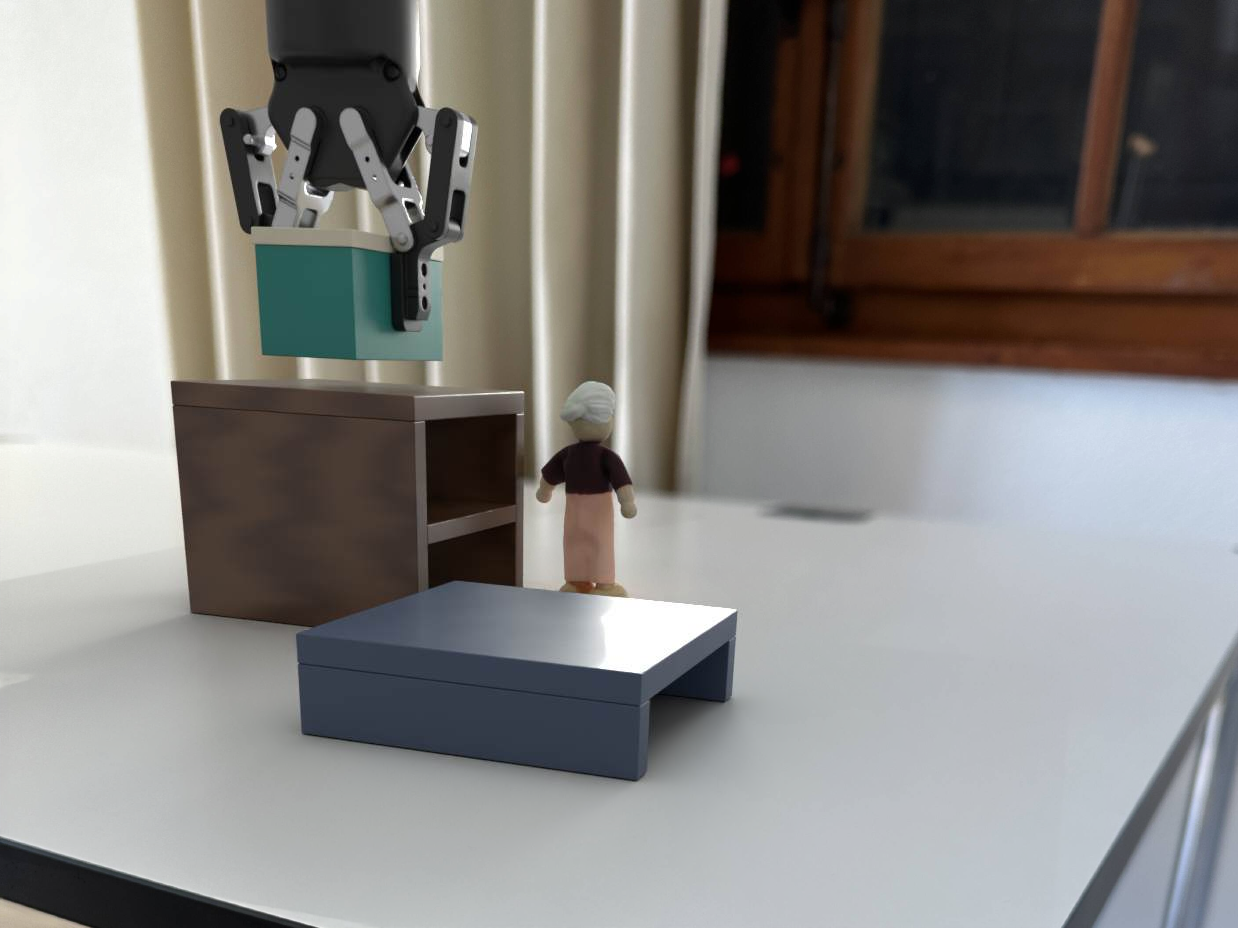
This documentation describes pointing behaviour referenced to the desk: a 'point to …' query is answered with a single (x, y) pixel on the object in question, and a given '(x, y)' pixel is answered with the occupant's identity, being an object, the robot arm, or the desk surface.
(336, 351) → the box
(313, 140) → the robot arm
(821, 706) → the desk surface
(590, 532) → the grandmother figurine
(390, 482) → the high shelf
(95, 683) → the desk surface
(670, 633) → the low shelf
